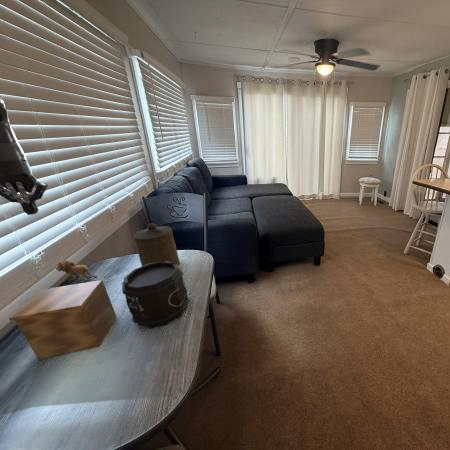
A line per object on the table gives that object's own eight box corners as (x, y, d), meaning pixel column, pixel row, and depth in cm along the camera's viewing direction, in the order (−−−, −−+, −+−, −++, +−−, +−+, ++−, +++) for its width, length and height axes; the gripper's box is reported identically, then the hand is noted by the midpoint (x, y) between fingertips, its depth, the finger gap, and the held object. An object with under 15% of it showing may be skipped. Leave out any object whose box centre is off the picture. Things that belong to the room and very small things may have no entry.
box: (38, 360, 67) (14, 320, 61) (65, 327, 78) (47, 291, 73) (99, 346, 70) (82, 307, 65) (116, 317, 82) (103, 282, 76)
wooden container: (184, 259, 118) (175, 217, 110) (171, 275, 104) (159, 229, 96) (154, 260, 118) (142, 218, 109) (137, 277, 104) (121, 231, 96)
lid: (10, 320, 61) (8, 318, 61) (43, 291, 72) (42, 289, 72) (82, 307, 65) (81, 305, 65) (103, 281, 76) (102, 279, 76)
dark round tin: (192, 289, 95) (184, 255, 89) (188, 321, 79) (178, 281, 73) (141, 300, 90) (129, 264, 84) (125, 336, 74) (109, 294, 68)
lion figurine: (59, 282, 102) (50, 264, 99) (70, 275, 107) (62, 257, 104) (93, 281, 102) (85, 263, 98) (103, 274, 107) (96, 257, 103)
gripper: (-35, 161, 65) (-4, 220, 72) (25, 158, 69) (50, 215, 75) (-11, 158, 72) (16, 212, 79) (43, 156, 76) (64, 208, 82)
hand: (33, 213), depth 77 cm, fingers closed
